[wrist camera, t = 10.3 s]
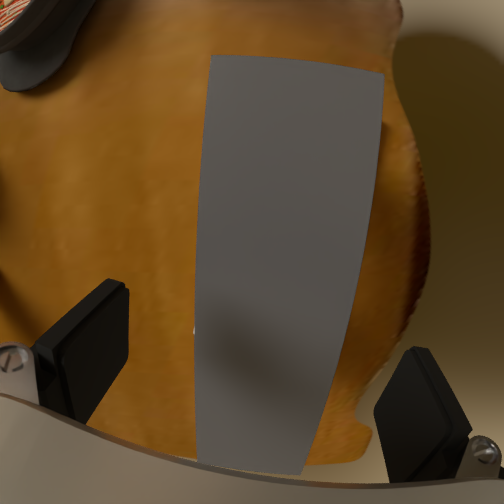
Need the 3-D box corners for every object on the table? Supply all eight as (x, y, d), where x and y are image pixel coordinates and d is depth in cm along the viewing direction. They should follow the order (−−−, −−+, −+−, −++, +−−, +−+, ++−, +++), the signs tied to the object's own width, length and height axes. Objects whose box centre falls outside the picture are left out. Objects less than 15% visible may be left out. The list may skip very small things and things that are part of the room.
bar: (239, 90, 16) (211, 55, 10) (348, 102, 16) (384, 74, 9) (218, 390, 22) (197, 462, 16) (299, 399, 22) (300, 475, 15)
